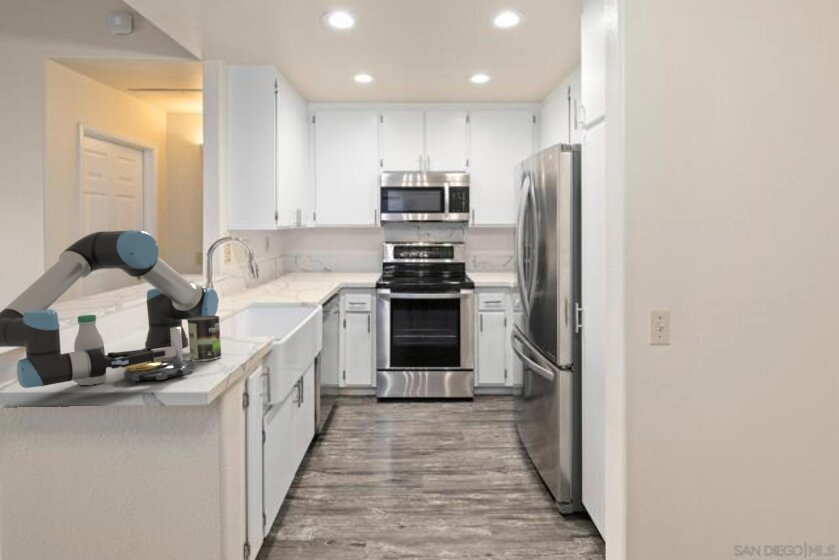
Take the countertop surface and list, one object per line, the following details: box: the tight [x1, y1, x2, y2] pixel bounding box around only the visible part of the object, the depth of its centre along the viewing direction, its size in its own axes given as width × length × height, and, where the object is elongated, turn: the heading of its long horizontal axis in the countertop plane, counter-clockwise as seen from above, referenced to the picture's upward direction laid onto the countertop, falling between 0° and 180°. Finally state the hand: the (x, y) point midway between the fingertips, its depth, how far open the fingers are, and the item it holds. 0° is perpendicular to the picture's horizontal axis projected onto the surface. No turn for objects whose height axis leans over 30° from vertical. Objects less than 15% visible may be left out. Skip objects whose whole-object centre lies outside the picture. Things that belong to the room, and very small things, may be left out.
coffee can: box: [186, 315, 223, 362], centre depth 202 cm, size 10×10×14 cm
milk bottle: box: [73, 314, 108, 386], centre depth 173 cm, size 8×8×20 cm
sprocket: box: [123, 327, 196, 382], centre depth 180 cm, size 20×20×14 cm
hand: (174, 350), depth 176 cm, fingers closed
